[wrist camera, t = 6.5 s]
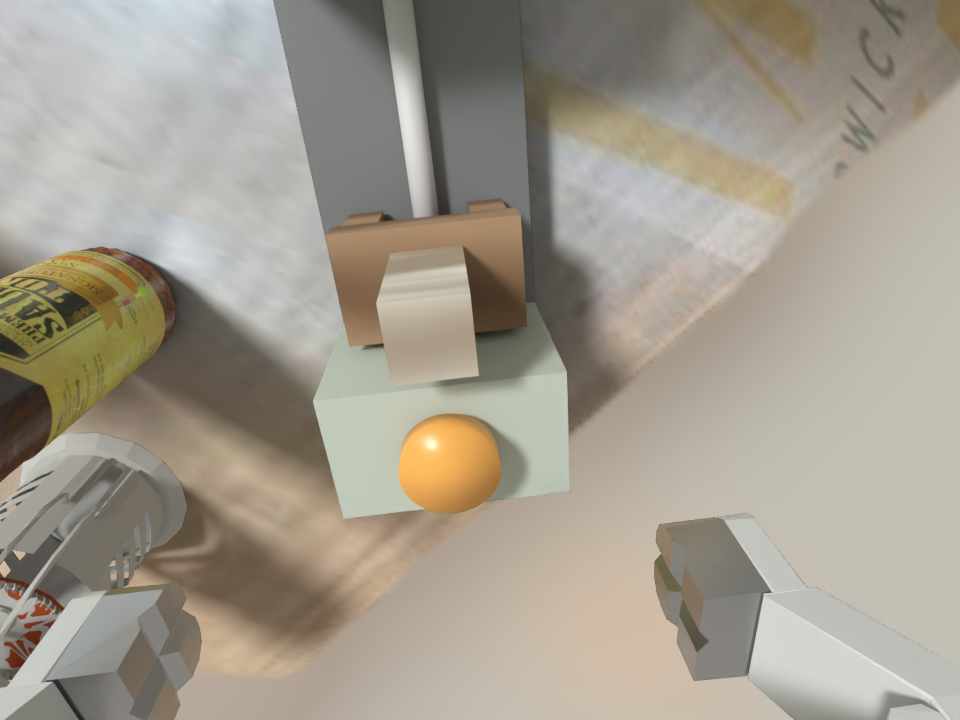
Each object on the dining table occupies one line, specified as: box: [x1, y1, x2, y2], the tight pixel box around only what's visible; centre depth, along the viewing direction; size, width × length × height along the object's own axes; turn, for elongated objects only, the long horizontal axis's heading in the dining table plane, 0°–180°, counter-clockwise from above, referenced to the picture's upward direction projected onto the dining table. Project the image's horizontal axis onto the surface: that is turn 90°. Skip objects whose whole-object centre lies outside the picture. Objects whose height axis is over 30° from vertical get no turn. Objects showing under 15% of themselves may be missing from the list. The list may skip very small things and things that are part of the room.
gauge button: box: [398, 413, 501, 513], centre depth 24 cm, size 4×4×6 cm
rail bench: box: [273, 0, 570, 519], centre depth 23 cm, size 26×10×10 cm, turn 5°
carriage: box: [325, 199, 527, 386], centre depth 23 cm, size 5×8×10 cm, turn 95°
